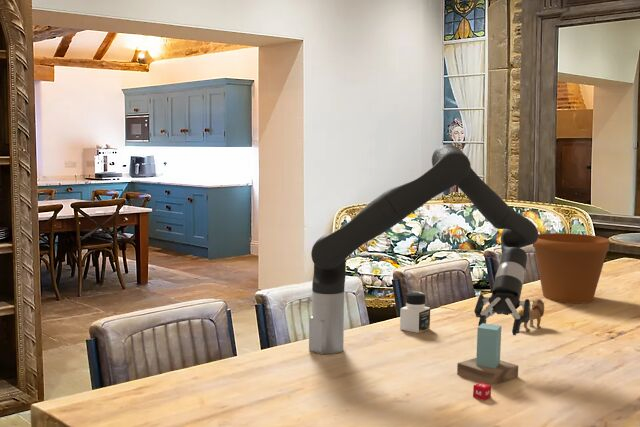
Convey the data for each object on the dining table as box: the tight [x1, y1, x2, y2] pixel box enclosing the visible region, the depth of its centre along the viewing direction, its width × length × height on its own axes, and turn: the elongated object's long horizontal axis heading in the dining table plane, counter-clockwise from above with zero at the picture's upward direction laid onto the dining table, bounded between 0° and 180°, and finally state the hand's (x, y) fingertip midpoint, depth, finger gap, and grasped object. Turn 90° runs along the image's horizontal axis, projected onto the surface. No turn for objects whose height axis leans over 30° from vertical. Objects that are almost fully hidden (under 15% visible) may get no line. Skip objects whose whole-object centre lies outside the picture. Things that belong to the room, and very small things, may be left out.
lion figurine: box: [517, 298, 545, 331], centre depth 237 cm, size 15×5×9 cm, turn 135°
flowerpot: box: [532, 232, 610, 304], centre depth 284 cm, size 28×28×24 cm
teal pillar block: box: [475, 323, 502, 368], centre depth 189 cm, size 5×5×10 cm
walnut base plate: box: [456, 357, 519, 387], centre depth 190 cm, size 11×11×3 cm
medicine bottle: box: [399, 291, 431, 334], centre depth 234 cm, size 7×7×12 cm
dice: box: [472, 382, 492, 401], centre depth 174 cm, size 3×3×3 cm
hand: (497, 331), depth 193 cm, fingers open, 8 cm apart
